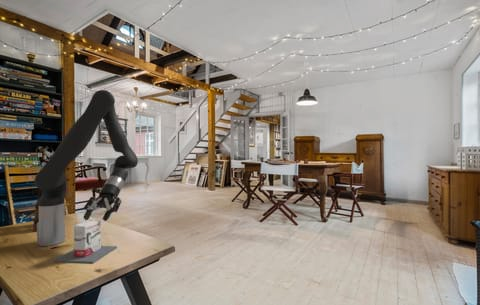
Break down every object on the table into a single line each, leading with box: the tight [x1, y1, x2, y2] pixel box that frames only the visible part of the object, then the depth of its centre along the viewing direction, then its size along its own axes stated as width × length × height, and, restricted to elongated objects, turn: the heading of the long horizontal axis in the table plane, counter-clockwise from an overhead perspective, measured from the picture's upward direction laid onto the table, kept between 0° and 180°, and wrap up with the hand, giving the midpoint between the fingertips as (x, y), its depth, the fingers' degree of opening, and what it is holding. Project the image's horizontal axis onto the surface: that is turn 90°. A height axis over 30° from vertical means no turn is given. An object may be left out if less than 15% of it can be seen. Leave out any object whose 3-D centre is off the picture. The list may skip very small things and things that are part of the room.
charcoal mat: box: [52, 245, 118, 264], centre depth 94 cm, size 16×14×1 cm
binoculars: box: [32, 189, 43, 233], centre depth 130 cm, size 18×8×20 cm, turn 38°
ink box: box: [73, 219, 102, 257], centre depth 95 cm, size 9×5×12 cm, turn 171°
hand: (94, 219), depth 99 cm, fingers open, 8 cm apart
